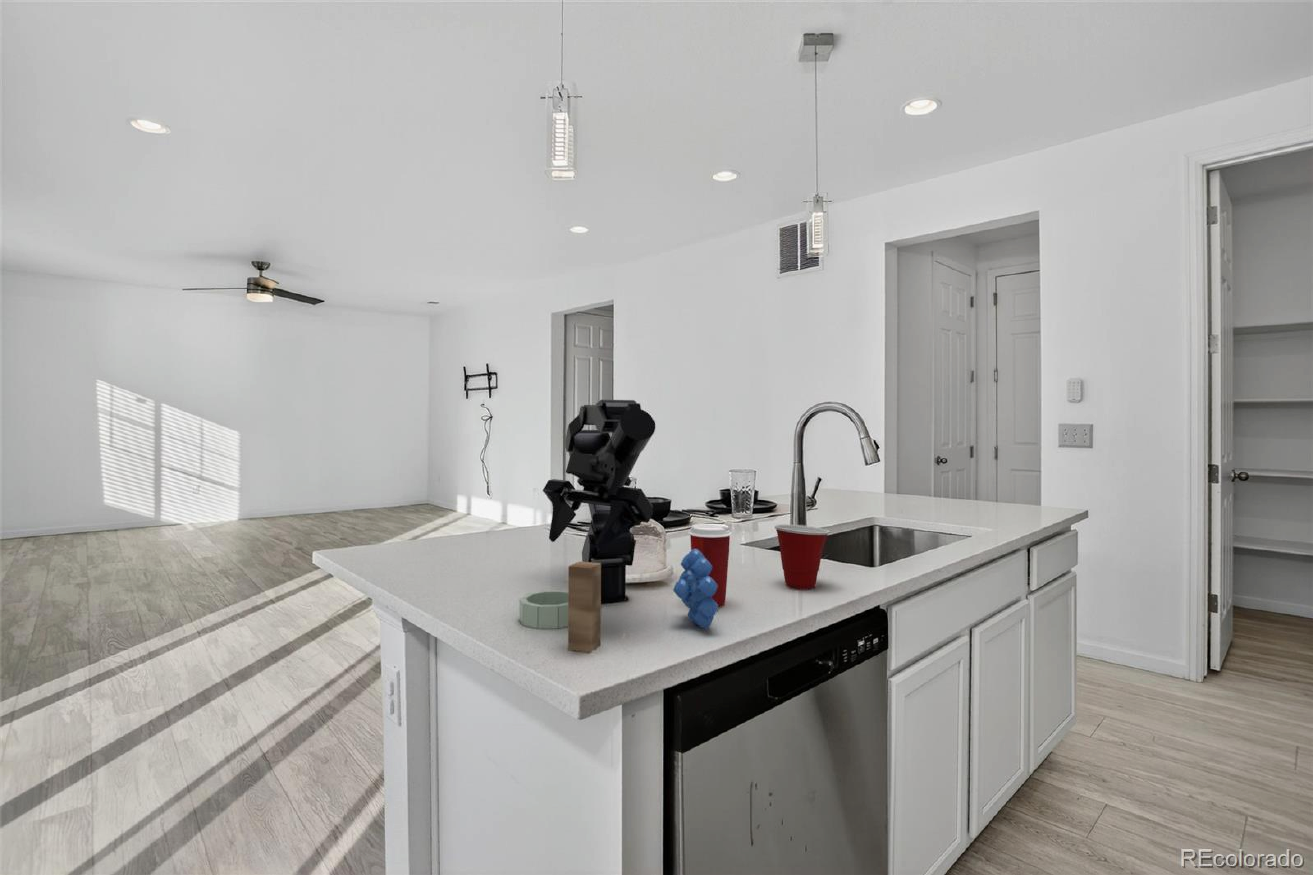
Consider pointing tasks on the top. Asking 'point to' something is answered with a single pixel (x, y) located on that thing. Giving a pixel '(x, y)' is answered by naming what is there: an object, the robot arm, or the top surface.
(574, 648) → the layered tan brick
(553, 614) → the pale green faceted bowl
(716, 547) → the paper cup
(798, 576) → the plastic cup
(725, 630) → the top surface
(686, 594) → the grapes
